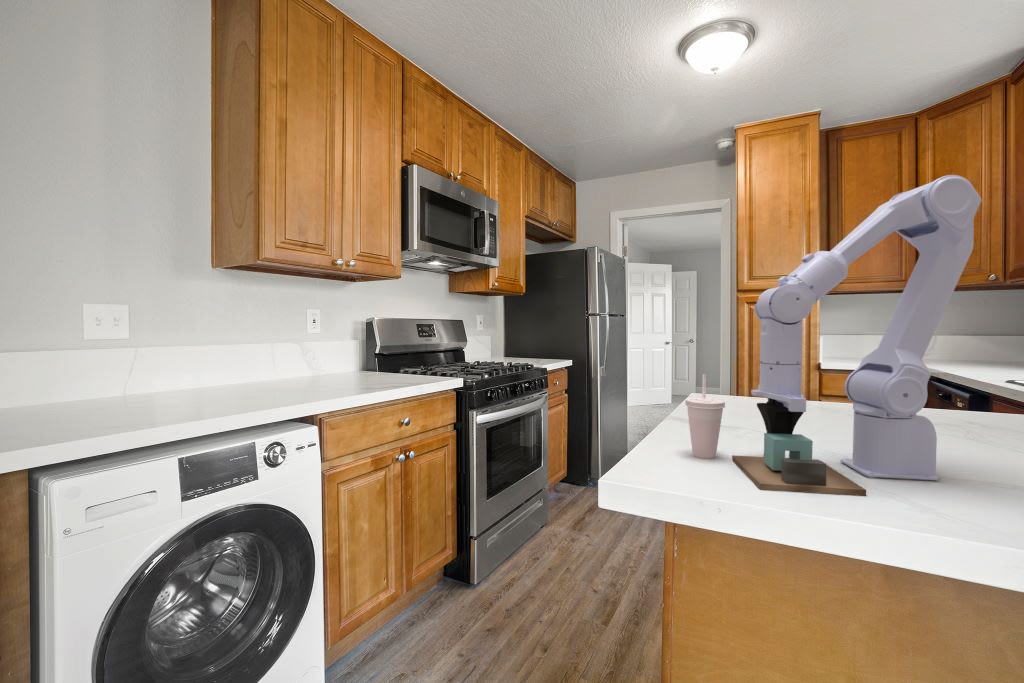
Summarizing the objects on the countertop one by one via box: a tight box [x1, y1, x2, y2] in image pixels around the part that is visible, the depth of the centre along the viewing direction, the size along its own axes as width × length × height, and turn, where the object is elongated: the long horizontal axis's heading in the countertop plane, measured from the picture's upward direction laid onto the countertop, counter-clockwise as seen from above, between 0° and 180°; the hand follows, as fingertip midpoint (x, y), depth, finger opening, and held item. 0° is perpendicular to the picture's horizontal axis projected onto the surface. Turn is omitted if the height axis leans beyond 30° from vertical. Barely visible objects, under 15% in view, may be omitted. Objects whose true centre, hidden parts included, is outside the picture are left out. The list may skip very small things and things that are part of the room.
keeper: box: [763, 432, 813, 471], centre depth 70 cm, size 5×4×5 cm
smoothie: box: [684, 374, 726, 460], centre depth 80 cm, size 6×6×14 cm
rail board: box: [731, 454, 867, 497], centre depth 70 cm, size 13×14×4 cm
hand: (778, 449), depth 73 cm, fingers closed
